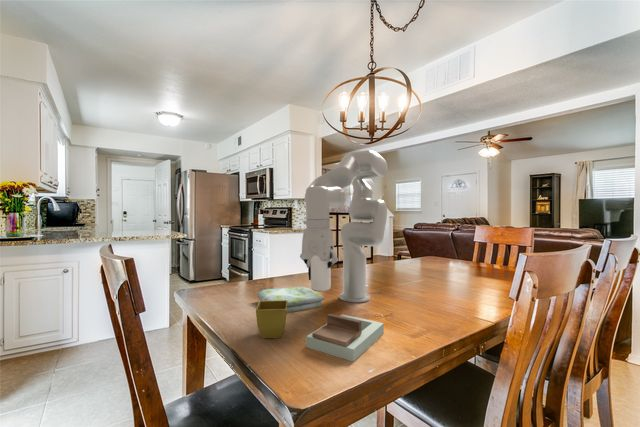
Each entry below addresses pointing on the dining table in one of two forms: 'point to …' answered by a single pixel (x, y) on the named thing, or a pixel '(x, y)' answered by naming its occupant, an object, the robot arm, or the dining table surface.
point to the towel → (293, 297)
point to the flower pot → (271, 318)
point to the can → (320, 274)
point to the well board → (356, 347)
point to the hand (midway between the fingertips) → (318, 279)
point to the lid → (339, 330)
